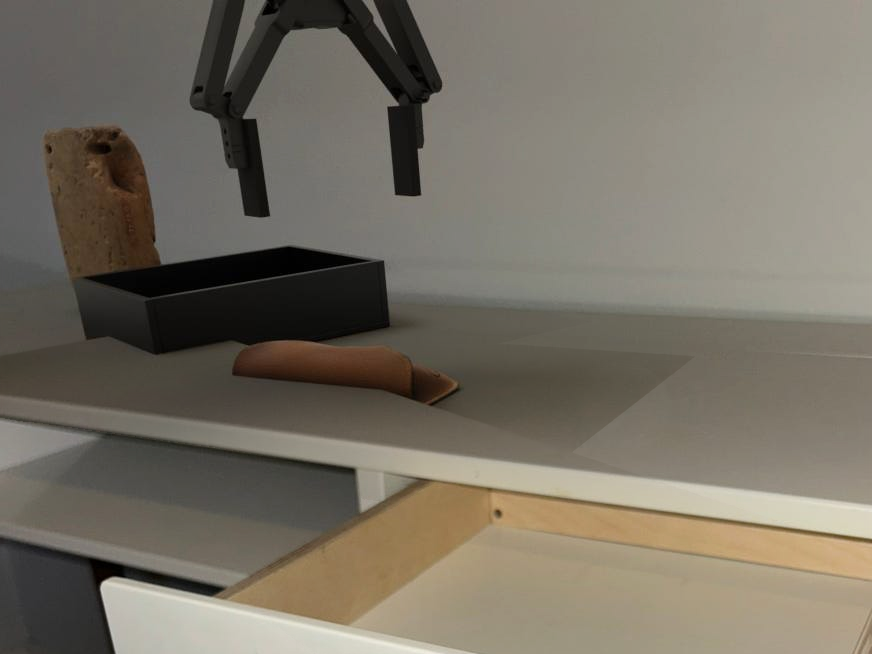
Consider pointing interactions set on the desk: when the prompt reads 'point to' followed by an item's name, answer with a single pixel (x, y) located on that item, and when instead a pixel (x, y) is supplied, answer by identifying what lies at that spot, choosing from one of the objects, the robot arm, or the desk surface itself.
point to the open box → (236, 299)
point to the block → (100, 200)
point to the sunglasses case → (343, 368)
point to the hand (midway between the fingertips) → (335, 206)
